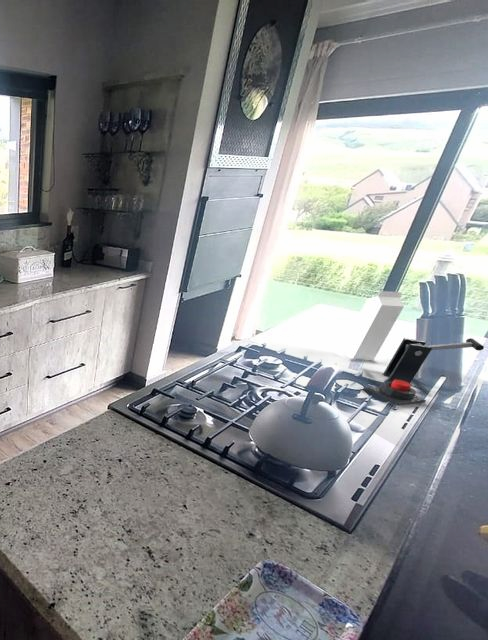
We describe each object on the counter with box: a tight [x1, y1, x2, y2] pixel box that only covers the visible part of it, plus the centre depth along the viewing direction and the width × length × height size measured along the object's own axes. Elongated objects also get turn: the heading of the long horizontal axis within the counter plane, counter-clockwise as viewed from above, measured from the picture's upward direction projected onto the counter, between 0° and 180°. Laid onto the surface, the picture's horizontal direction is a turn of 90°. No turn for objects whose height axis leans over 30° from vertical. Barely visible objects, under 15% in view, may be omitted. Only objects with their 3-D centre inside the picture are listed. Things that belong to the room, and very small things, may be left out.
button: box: [391, 380, 412, 392], centre depth 104 cm, size 3×3×2 cm
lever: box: [406, 338, 485, 352], centre depth 106 cm, size 13×5×2 cm, turn 63°
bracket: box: [382, 337, 433, 384], centre depth 111 cm, size 11×9×13 cm
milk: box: [340, 290, 405, 361], centre depth 122 cm, size 6×6×22 cm
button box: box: [365, 380, 427, 411], centre depth 105 cm, size 9×8×4 cm
